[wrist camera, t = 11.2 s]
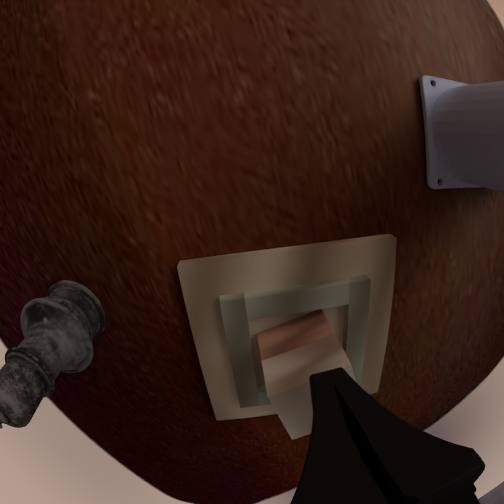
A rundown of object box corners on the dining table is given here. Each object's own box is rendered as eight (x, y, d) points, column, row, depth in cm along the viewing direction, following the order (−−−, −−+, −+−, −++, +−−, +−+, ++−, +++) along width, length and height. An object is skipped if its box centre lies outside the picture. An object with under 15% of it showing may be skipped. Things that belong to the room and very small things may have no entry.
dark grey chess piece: (94, 357, 21) (37, 476, 10) (36, 315, 19) (-45, 415, 8) (121, 307, 20) (51, 443, 8) (56, 260, 18) (-54, 359, 7)
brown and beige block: (320, 308, 20) (351, 365, 14) (335, 355, 21) (363, 413, 15) (257, 332, 20) (267, 396, 14) (278, 377, 21) (292, 439, 16)
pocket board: (389, 233, 19) (402, 241, 18) (373, 384, 24) (380, 397, 22) (179, 260, 19) (174, 271, 17) (216, 412, 24) (216, 427, 22)
